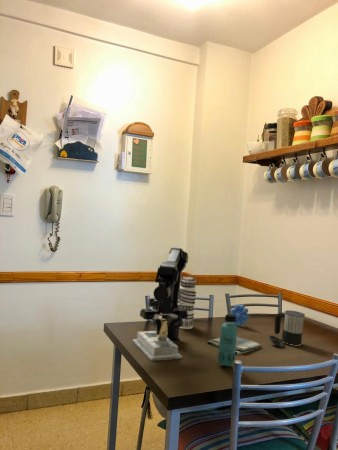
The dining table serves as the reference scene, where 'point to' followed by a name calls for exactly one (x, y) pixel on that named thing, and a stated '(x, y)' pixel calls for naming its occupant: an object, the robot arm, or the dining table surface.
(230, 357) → the beverage bottle
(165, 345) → the aluminium jig
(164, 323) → the solid brass peg
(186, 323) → the leaning tower model
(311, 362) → the dining table surface
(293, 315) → the milk frother
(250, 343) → the dish towel
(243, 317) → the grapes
